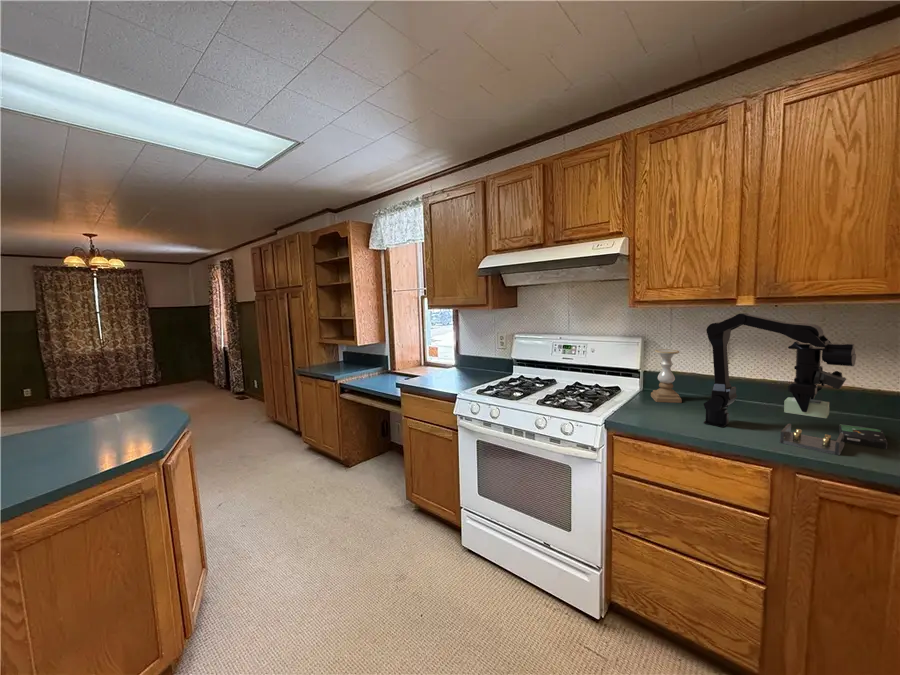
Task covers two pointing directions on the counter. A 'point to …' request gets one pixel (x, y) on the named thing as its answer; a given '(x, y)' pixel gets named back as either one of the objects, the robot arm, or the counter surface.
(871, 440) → the disk drive
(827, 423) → the counter surface
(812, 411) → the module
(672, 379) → the candle holder
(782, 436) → the chassis
